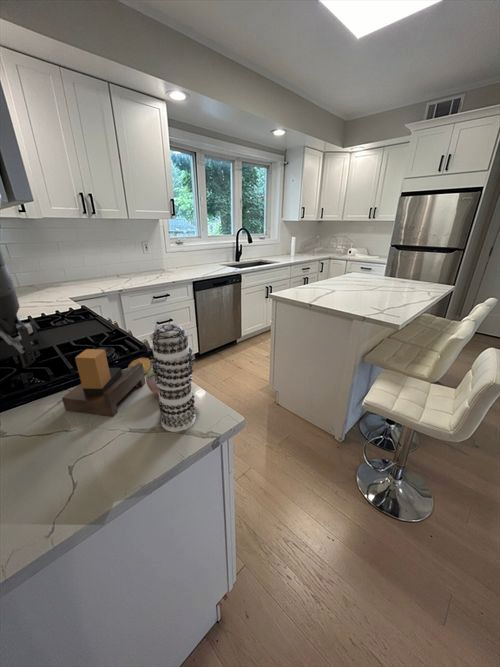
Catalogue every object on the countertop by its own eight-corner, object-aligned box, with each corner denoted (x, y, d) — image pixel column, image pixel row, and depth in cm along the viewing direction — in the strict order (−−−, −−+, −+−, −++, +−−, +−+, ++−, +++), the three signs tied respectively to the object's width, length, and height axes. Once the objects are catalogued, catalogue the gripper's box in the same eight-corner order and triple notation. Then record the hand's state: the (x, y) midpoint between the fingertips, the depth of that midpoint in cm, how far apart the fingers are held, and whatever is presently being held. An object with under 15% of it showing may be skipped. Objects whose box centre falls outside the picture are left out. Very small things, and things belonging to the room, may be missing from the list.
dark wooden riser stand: (65, 410, 73) (58, 387, 70) (104, 378, 88) (100, 359, 85) (113, 416, 71) (108, 393, 68) (145, 383, 85) (142, 363, 83)
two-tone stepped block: (103, 395, 73) (94, 358, 68) (84, 394, 73) (74, 357, 69) (122, 373, 83) (115, 340, 79) (105, 373, 83) (98, 339, 79)
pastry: (135, 362, 98) (134, 352, 96) (155, 362, 98) (154, 352, 96) (126, 376, 89) (124, 366, 87) (147, 376, 89) (145, 365, 88)
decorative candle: (199, 429, 67) (192, 334, 57) (159, 436, 65) (145, 338, 55) (196, 406, 75) (189, 319, 66) (160, 411, 73) (148, 322, 63)
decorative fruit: (166, 382, 86) (162, 353, 82) (185, 389, 82) (182, 360, 79) (141, 397, 79) (135, 366, 75) (161, 406, 75) (157, 374, 71)
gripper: (40, 290, 52) (55, 357, 61) (-27, 271, 53) (-3, 339, 62) (2, 307, 46) (25, 379, 55) (-73, 285, 47) (-39, 359, 56)
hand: (10, 358), depth 58 cm, fingers open, 8 cm apart
